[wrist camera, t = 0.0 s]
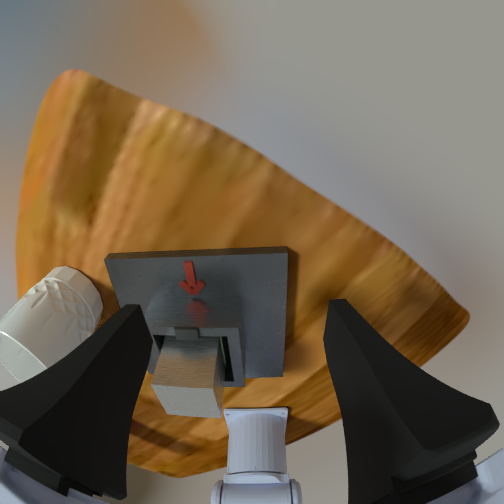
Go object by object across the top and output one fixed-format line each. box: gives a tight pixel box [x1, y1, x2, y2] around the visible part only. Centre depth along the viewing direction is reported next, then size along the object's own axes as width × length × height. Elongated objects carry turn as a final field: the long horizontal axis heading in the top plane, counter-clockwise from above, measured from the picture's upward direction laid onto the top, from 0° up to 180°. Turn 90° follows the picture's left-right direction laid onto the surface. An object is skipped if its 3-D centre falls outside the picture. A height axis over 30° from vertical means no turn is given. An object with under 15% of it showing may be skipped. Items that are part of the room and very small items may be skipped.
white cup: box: [0, 266, 103, 383], centre depth 18 cm, size 8×8×10 cm
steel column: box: [151, 335, 227, 418], centre depth 19 cm, size 4×4×7 cm
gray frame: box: [104, 246, 288, 387], centre depth 21 cm, size 14×14×5 cm
